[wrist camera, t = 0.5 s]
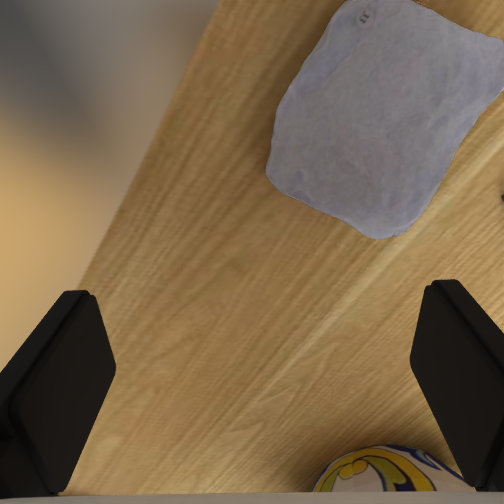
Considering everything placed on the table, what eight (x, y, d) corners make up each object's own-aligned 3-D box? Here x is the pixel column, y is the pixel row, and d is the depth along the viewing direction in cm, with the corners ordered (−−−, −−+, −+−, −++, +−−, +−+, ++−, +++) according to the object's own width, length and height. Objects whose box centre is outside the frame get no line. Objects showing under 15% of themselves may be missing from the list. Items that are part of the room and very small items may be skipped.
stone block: (257, 174, 26) (389, 233, 26) (242, 190, 21) (402, 261, 21) (335, -21, 21) (500, 50, 21) (337, -53, 16) (547, 38, 16)
